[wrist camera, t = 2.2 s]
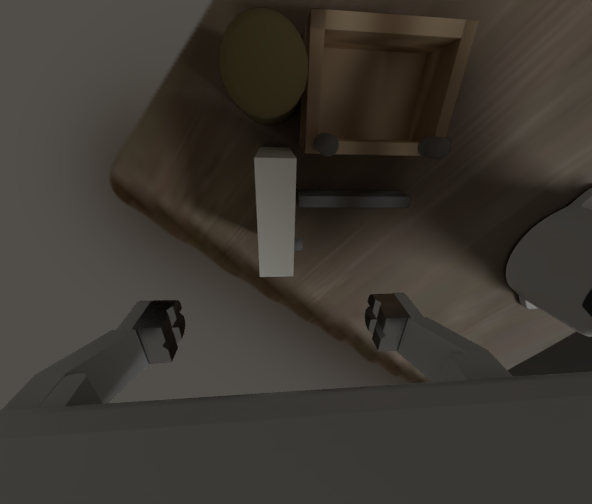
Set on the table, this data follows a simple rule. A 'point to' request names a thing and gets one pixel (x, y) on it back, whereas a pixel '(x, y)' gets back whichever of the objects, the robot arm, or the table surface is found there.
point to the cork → (263, 65)
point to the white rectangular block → (276, 210)
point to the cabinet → (379, 91)
